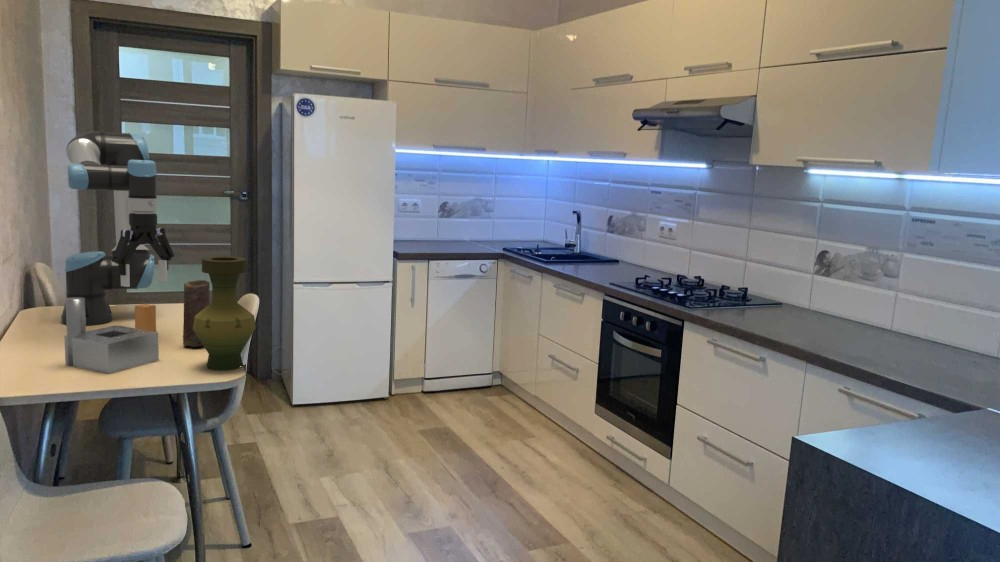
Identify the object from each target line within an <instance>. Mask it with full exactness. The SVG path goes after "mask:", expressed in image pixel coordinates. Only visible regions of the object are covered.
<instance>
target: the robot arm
mask: <svg viewBox="0 0 1000 562" xmlns="http://www.w3.org/2000/svg"><path fill="white" fill-rule="evenodd" d="M148 147H149V146H148V144H147V141H146V139H145V137H144V136H142V135H140V134H136V133H129V132H125V133H124V132H109V131H108V132H107V131H106V132H105V131H97V130H96V131H87V132H84V133H80V134H79V135H76V136H75V137H73V138H72V139H71V140H69V142H67V145H66V148H65V149H66V150H65V151H66V153H65V154H66V156H67V158H68V160H69V161H70V164H68V166H67V183H68V187H69V188H70V189H72V190H81V191H113V203H114V204H113V205H114V206H113V207H114V223H115V224H114V225H115V226H114V227H115V228H114V229H115V247H113V248H112V249H111V255H106V253H105V251H101V250H99V251H86V252H80V253H79V252H78V253H76V254H71V255H69V256H67V258H66V259H65V262H64V263H65V268H64V272H65V290H66V291H65V292H66V296H65V297H66V299H67V298H73V297H82V298H85V318H86V326H95V325H103V324H107V323H110V322H112V321H113V317H114V316H113V312H112V310H111V307H110V305H109V302H108V299H107V291H108V290H109V291H111V290H113V291H114V290H139V289H148V288H149V287H150V286H151V285H152V283H153V279H154V274H155V256H154V255H153V254H150V249H149V248H148V247H147V246H146V245H150V247H151V248H152V249H153V250H154V251H155V253H156V255H158V257H159V258H160V259H157V261H158V266H157V267H158V281H159V282H166V283H167V282H168V270H169V261H171V260H172V258H174V257H175V254H174V252H173V249H172V247H171V245H170V242H169V241H168V238H167V235H166V229H165V228H163V227H157V226H158V214H157V213H156V212H157V211H158V205H157V202H158V201H157V173H158V171H157V166H156V162H155V161H154V160H150V153H149V148H148ZM60 322H61V323H62V324H64V325H67V321H66V302H65V304H64V307H63V310H62V313H61V316H60Z"/></svg>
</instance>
